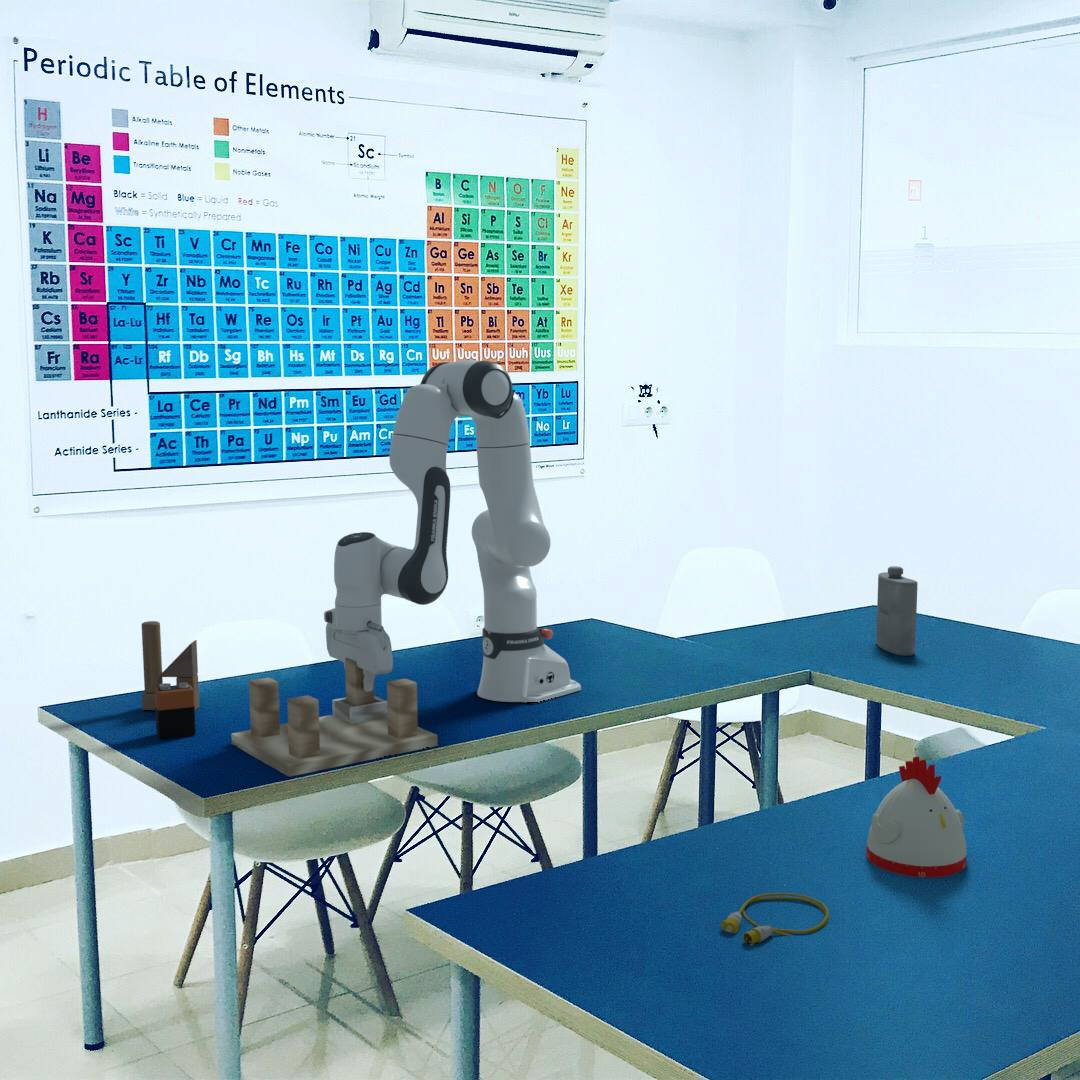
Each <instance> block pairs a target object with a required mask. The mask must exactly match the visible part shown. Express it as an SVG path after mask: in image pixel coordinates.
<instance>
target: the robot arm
mask: <svg viewBox="0 0 1080 1080" xmlns="http://www.w3.org/2000/svg"><path fill="white" fill-rule="evenodd" d="M457 417H470V418H471V419H472V422H473V424H474V426H475V443H476V444H475V445H476V446H475V447H476V458H477V459H476V460H477V472H478V482H479V486H480V489H481V491H482V494H483V495H484V499H485V502H486V506H487V509H486V510H484V511H482V512H480V513H479V514H478V515H476V517H475V519H474V521H473V523H472V526H471V537H472V538H471V539H472V540H473V543H474V545H475V548H476V554H477V561H478V567H479V571H480V577H481V583H482V589H483V617H484V618H483V621H484V622H483V623H484V625H483V628H482V635H481V637H482V638H481V639H482V641H481V642H482V643H481V645H482V654H483V660H482V668H481V674H480V675H481V677H480V682H479V686H478V690H477V691H476V693H477V694H476V695H477V696H478V697H479V698H482V699H485V700H490V701H492V702H493V701H495V702H504V703H505V702H506V703H527V702H538V703H541V702H540V701H542V702H544V701H543V700H545V701H549V700H552V699H555V697H556V698H558V697H563V696H565V695H570V694H572V693H575V692H579V691H581V690H582V686H581V684H580V683H579V682H578V681H576V680H575V679H572V678H571V674H570V672H571V671H570V668H569V664H568V662H567V661H566V659H565V658H563V656H561V655H560V654H558V653H557V652H555V651H554V650H553V649H551V647H549V646H548V645H546V644H545V642H544V639H543V638H545V639H547V640H550V639H552V637H553V636H554V632H553V630H552V629H550V628H549V629H548V628H540V627H539V626H538V625H537V624H538V623H537V622H538V616H537V615H538V612H537V611H538V607H537V606H538V603H537V601H538V600H537V597H538V596H537V590H536V586H535V584H534V582H533V579H532V578H533V577H532V575H531V570H530V567H534V566H536V565H539V564H540V563H542V562H543V561H544V560H545V559H546V558H547V556H548V554H549V552H550V549H551V536H550V533H549V531H548V530H547V528H546V525H545V523H544V521H543V520H544V519H543V516H542V512H541V508H540V504H539V499H538V496H537V492H536V489H535V484H534V479H533V478H534V477H533V468H532V466H533V465H532V453H531V441H530V440H531V439H530V432H529V431H530V430H529V424H528V418H527V415H526V410H525V407H524V402H523V400H522V399H521V397H520V396H519V395H518V394H517V393H515V391H514V389H513V382H512V379H511V377H510V375H509V373H508V371H507V370H506V369H505V368H504V367H503V366H502V365H500V364H498V363H497V362H493V361H489V360H477V359H462V360H458V361H452V362H450V361H444V362H440V363H438V364H435V365H434V366H432V367H431V368H429V369H428V370H426V372H425V374H424V376H423V377H422V378H421V381H420V383H419V384H416V385H413V386H411V387H410V388H409V389H407V391H406V392H405V395H404V396H403V399H402V401H401V404H400V407H399V409H398V413H397V415H396V419H395V422H394V427H393V430H392V435H391V440H390V441H391V442H390V446H389V453H388V454H389V466H390V469H391V471H392V472H393V474H394V476H395V477H396V478H397V479H398V480H399V481H400V482H401V483H402V484H403V485H405V486H406V487H407V488H408V489H409V490H410V491H411V493H412V494H413V495H414V498H415V501H416V503H417V518H416V530H415V541H414V546H413V548H412V549H411V548H406V547H401V546H398V545H396V544H391V543H389V542H387V541H385V540H382V539H380V538H379V537H377V535H376V534H375V533H374V532H373V533H372V532H367V531H363V532H362V531H361V532H353V533H349V534H347V535H345V536H343V537H342V538H340V539H339V540H338V541H337V544H336V547H335V551H334V561H333V581H334V584H335V588H336V596H335V600H334V608H331V609H328V610H325V611H324V612H323V620H324V622H325V623H326V625H325V639H326V640H325V641H326V651H327V653H328V656H329V657H331V658H333V659H335V660H338V661H341V662H343V668H344V669H345V658H348V659H351V660H354V661H356V664H357V667H358V668H361V669H363V674H364V675H365V676H364V680H363V682H361V686H362V687H361V689H362V690H363V691H366V692H369V691H372V690H373V681H374V682H375V678H376V676H378V675H384V674H385V675H386V674H388V673H392V671H393V668H394V661H393V659H394V657H393V649H392V642H391V641H392V640H391V637H390V636H389V634H388V633H387V632H386V631H385V629H384V626H383V624H382V623H383V619H382V615H383V614H382V596H383V595H389V596H391V597H395V598H400V599H404V600H406V601H408V602H409V601H410V602H411V603H414V604H416V605H421V606H423V605H424V606H426V605H429V604H432V603H434V602H435V601H436V600H438V599H439V598H441V595H442V594H443V593H444V591H445V590H446V587H447V585H448V581H449V566H448V565H449V564H448V558H447V557H448V555H447V554H448V553H447V547H448V544H447V543H448V533H449V522H450V521H449V519H450V509H451V508H450V507H451V482H450V478H449V475H448V473H447V453H448V447H449V441H450V434H451V428H452V425H453V423H454V422H455V420H456V418H457ZM551 698H552V699H551ZM548 699H549V700H548Z"/></svg>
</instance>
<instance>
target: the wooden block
mask: <svg viewBox="0 0 1080 1080" xmlns="http://www.w3.org/2000/svg"><path fill="white" fill-rule="evenodd" d="M197 643H198V642H197V640H196V639H195V640H193V641H192V642H190V643H189V645H187V646H186V647H185V649H184V650H183V651H182V652H180V654H179V655H178V656H177V657H176V658H175V659H174V660H173V661H172V662H170V664H169V665H168V666H167V667H166V668H165V669H164V670H163V662H162V639H161V623H160V622H159V621H155V620H149V621H144V622H142V623H141V644H142V659H143V660H142V661H143V663H142V664H143V680H144V681H143V683H144V692H143V693H142V694H141V704H142V711H143V710H155V688H158V687H160V684H164V681H163V678H175V681H176V682H175V683H176V685H175V686H177V685H179V683H184V682H186V683H188V685H190V686H191V687H192V688H193V690H194V704H195V711H197V710H198V709H199V708H198V707H200V694H199V693H200V692H199V691H200V690H199V668H198V644H197Z"/></svg>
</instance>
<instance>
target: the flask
mask: <svg viewBox="0 0 1080 1080" xmlns="http://www.w3.org/2000/svg"><path fill="white" fill-rule="evenodd" d="M902 575H904V568H903V567H901V566H897V565H895V566H889V567H888V568H887V571H885V572H880V573H878V575H877V606H876V607H877V609H876V630H875V631H876V632H875V633H876V635H875V644H876V645H877V646H878V647H879V648H880V649H882V650H883V651H885V652H887V653H889V654H890V653H891V654H893V655H897V656H902V657H904V656H906V657H910V656H913V655H915V653H916V641H917V640H916V635H917V610H918V609H917V608H918V606H917V605H918V581H916V580H914V579H911V578H907V577H906V576H905V577H904V576H902Z"/></svg>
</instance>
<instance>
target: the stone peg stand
mask: <svg viewBox="0 0 1080 1080" xmlns="http://www.w3.org/2000/svg"><path fill="white" fill-rule="evenodd" d="M279 687H280V686H279V681H278V680H275V679H273V678H271V677H264V678H258V679H251V680H248V693H249V694H248V695H249V718H250V720H249V721H250V729H249V730H243V731H238V732H232V733H231V745H233V746H234V745H235V747H236V746H237V747H236V748H238V749H240V750H242V751H243V752H244V753H247V754H248V755H250V756H252V757H253V758H255V759H257V760H259V761H261V762H263V763H264V764H266V765H268V766H269V767H271V768H273V769H275V770H276V771H278V772H280V773H282V774H284V775H285V776H287V777H288V778H289V777H294V776H300V775H305V774H309V773H314V772H318V771H323V770H328V769H333V768H337V767H342V766H347V765H352V764H356V763H357V764H358V763H361V762H366V761H372V760H377V759H381V758H385V757H384V756H386V757H389V755H391V756H396V755H399V754H403V753H409V752H413V751H419V750H423V748H424V749H427V748H426V747H429V748H433V747H438V745H439V744H438V742H439V741H438V735H437V734H435V733H433V732H431V731H429V730H426V729H424V728H422V727H419V726H418V724H419V723H418V682H416V681H413V680H410V679H409V678H401V679H400V678H399V679H393V680H389V681H386V697H387V698H386V699H387V700H384V699H383V698H381V697H378V696H375V695H374V703H372V704H366V705H361V706H355V707H354V706H351V705H349V704H347V703H346V697H341V698H335V699H331V702H332V704H331V706H332V714H330V715H324V716H320V707H319V706H320V705H319V703H320V701H319V699H317V698H315V697H313V696H311V695H308V694H307V695H306V694H305V695H303V696H297V697H290V698H287V702H286V704H287V722H286V723H281V721H280V692H279V691H280V690H279ZM395 754H396V755H395ZM380 757H381V758H380ZM376 758H377V759H376Z"/></svg>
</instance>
